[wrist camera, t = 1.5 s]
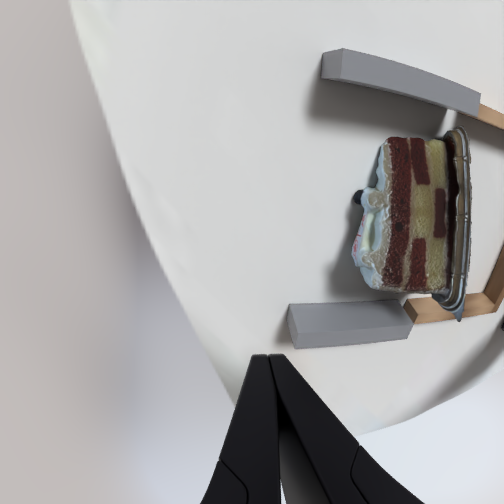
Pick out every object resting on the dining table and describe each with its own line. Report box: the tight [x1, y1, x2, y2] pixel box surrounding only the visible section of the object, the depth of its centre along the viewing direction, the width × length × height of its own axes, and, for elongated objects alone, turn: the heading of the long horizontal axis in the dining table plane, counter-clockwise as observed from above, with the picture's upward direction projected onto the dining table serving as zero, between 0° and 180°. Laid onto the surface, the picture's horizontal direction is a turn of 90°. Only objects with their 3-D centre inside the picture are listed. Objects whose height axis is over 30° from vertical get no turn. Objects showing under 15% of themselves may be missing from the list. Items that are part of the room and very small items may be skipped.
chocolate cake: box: [351, 126, 472, 322], centre depth 19 cm, size 10×7×12 cm
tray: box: [404, 104, 504, 324], centre depth 20 cm, size 11×17×2 cm, turn 176°
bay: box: [287, 48, 481, 349], centre depth 18 cm, size 9×18×3 cm, turn 176°
